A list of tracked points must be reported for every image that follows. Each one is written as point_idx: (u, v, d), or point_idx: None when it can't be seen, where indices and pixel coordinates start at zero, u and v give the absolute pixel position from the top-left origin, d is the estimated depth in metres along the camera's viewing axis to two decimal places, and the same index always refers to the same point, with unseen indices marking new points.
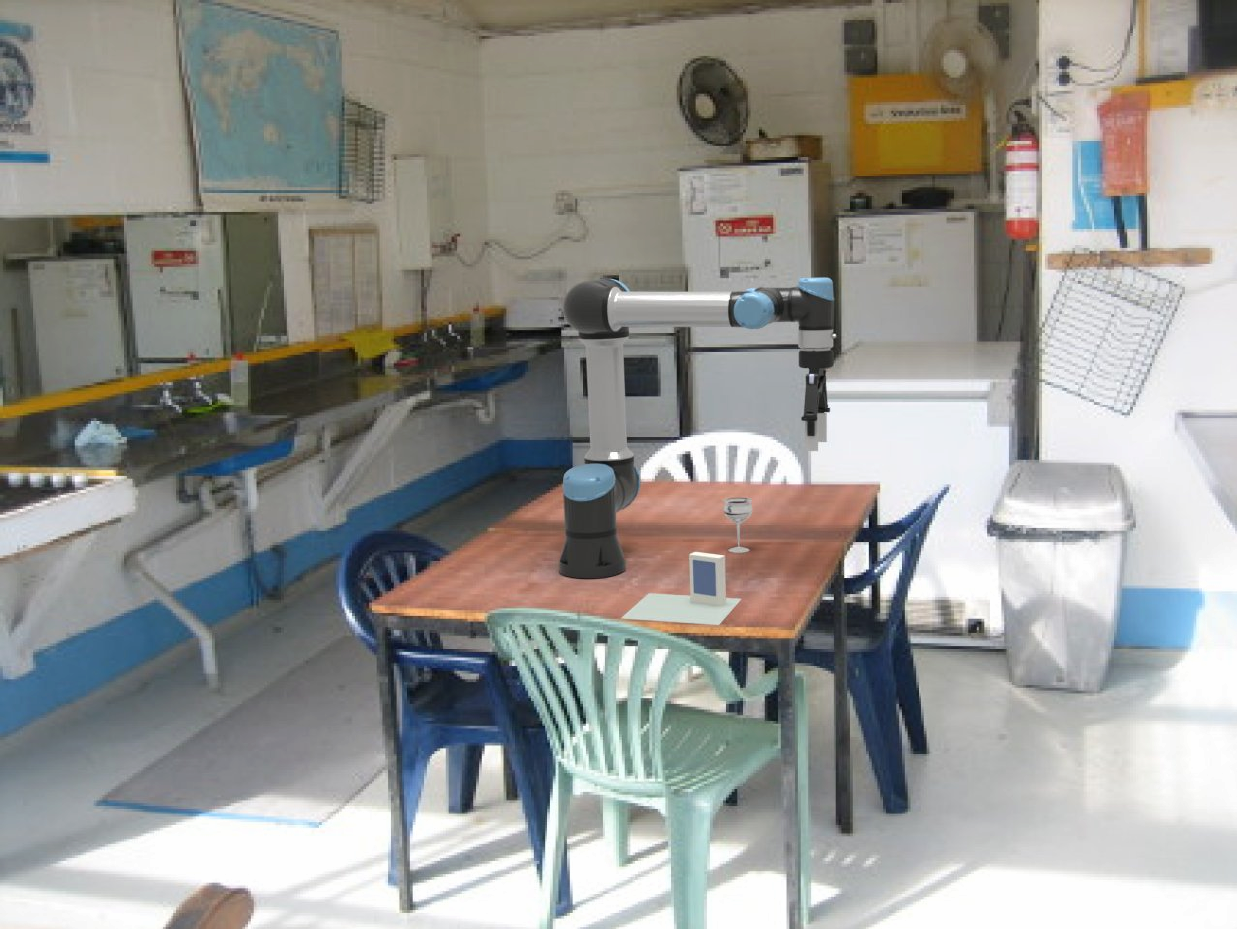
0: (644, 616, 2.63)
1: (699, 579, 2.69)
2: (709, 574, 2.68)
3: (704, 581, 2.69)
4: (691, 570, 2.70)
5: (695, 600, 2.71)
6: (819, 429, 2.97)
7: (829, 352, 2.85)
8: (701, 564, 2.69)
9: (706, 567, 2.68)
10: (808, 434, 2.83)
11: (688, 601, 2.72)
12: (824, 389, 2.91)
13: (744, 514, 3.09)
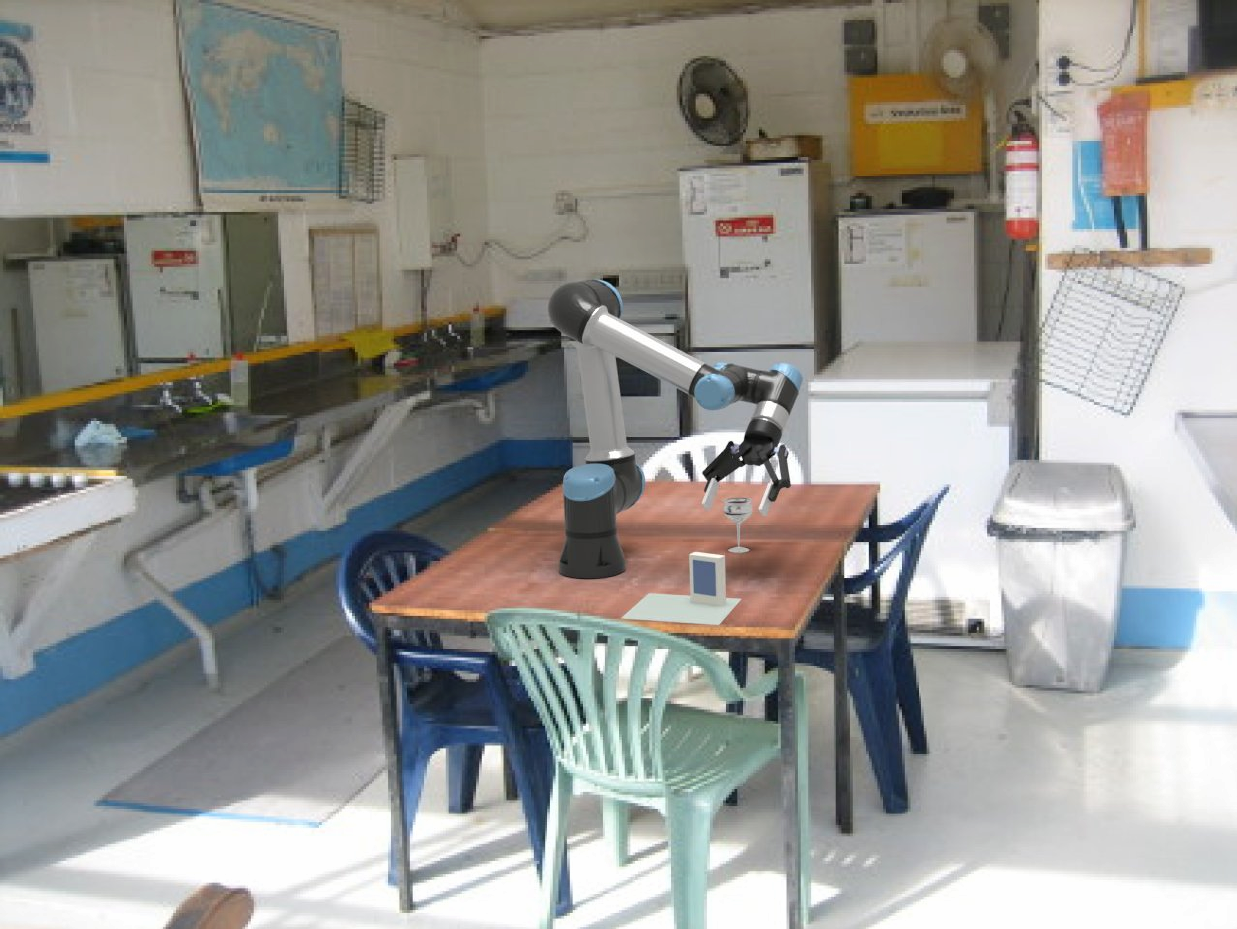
0: (644, 616, 2.63)
1: (699, 579, 2.69)
2: (709, 574, 2.68)
3: (704, 581, 2.69)
4: (691, 570, 2.70)
5: (695, 600, 2.71)
6: (711, 495, 2.81)
7: None
8: (701, 564, 2.69)
9: (706, 567, 2.68)
10: (773, 497, 2.73)
11: (688, 601, 2.72)
12: (744, 464, 2.84)
13: (744, 514, 3.09)
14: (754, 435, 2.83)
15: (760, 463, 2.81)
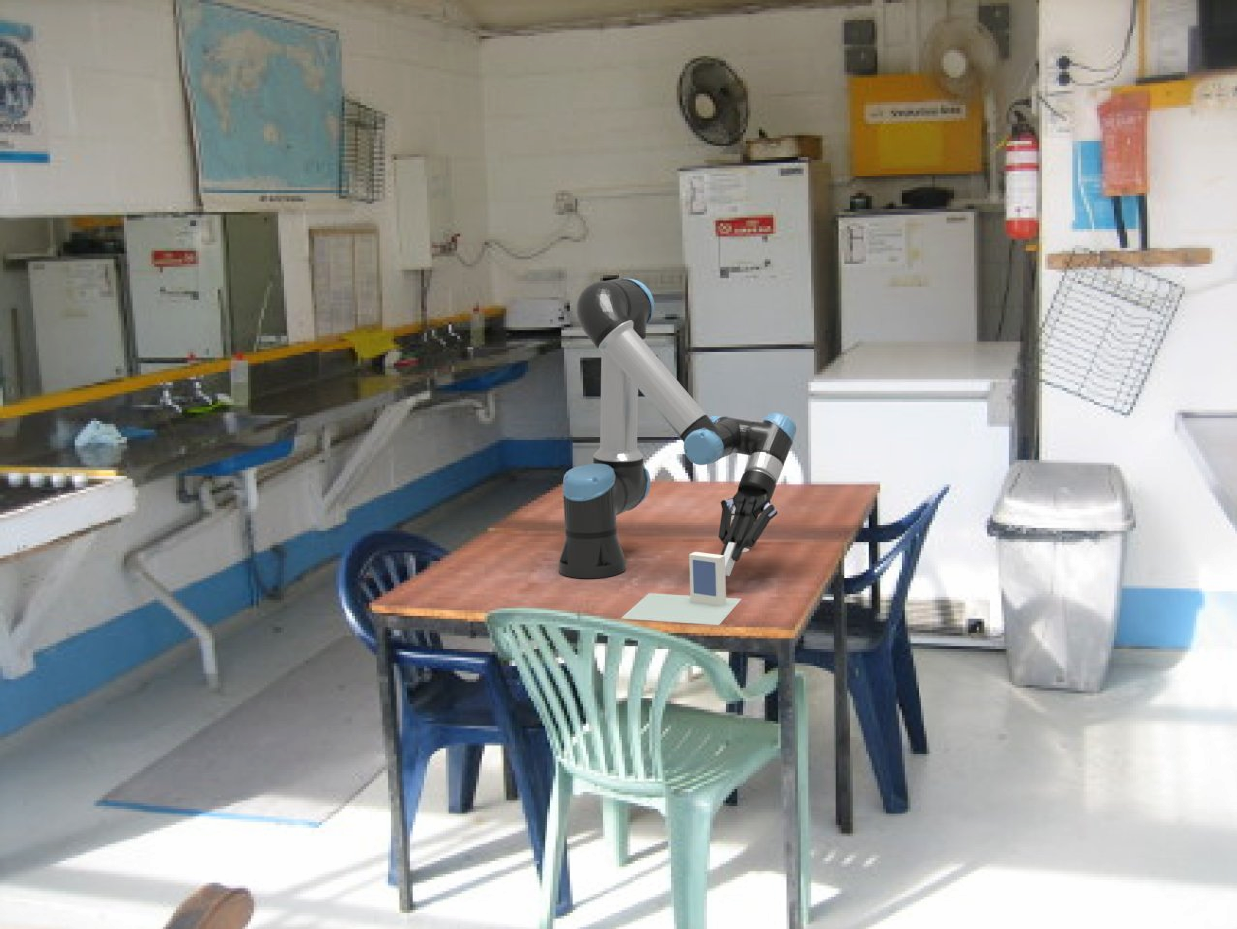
0: (644, 616, 2.63)
1: (699, 579, 2.69)
2: (709, 574, 2.68)
3: (704, 581, 2.69)
4: (691, 570, 2.70)
5: (695, 600, 2.71)
6: None
7: None
8: (701, 564, 2.69)
9: (706, 567, 2.68)
10: (736, 556, 2.75)
11: (688, 601, 2.72)
12: None
13: None
14: (748, 487, 2.82)
15: (754, 515, 2.80)
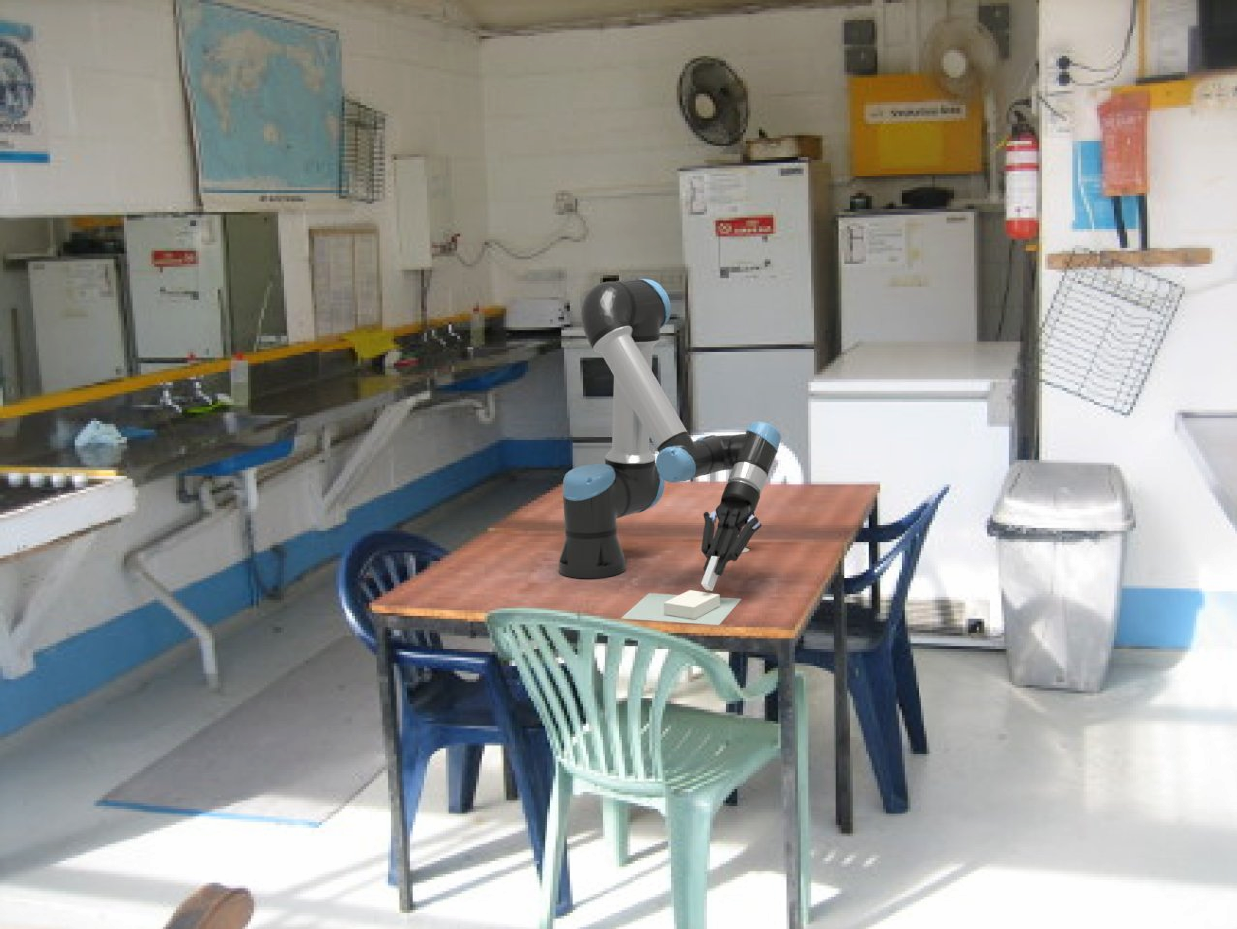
0: (644, 616, 2.63)
1: None
2: None
3: None
4: None
5: None
6: None
7: None
8: None
9: None
10: (719, 571, 2.68)
11: None
12: None
13: None
14: (731, 498, 2.75)
15: (738, 527, 2.73)
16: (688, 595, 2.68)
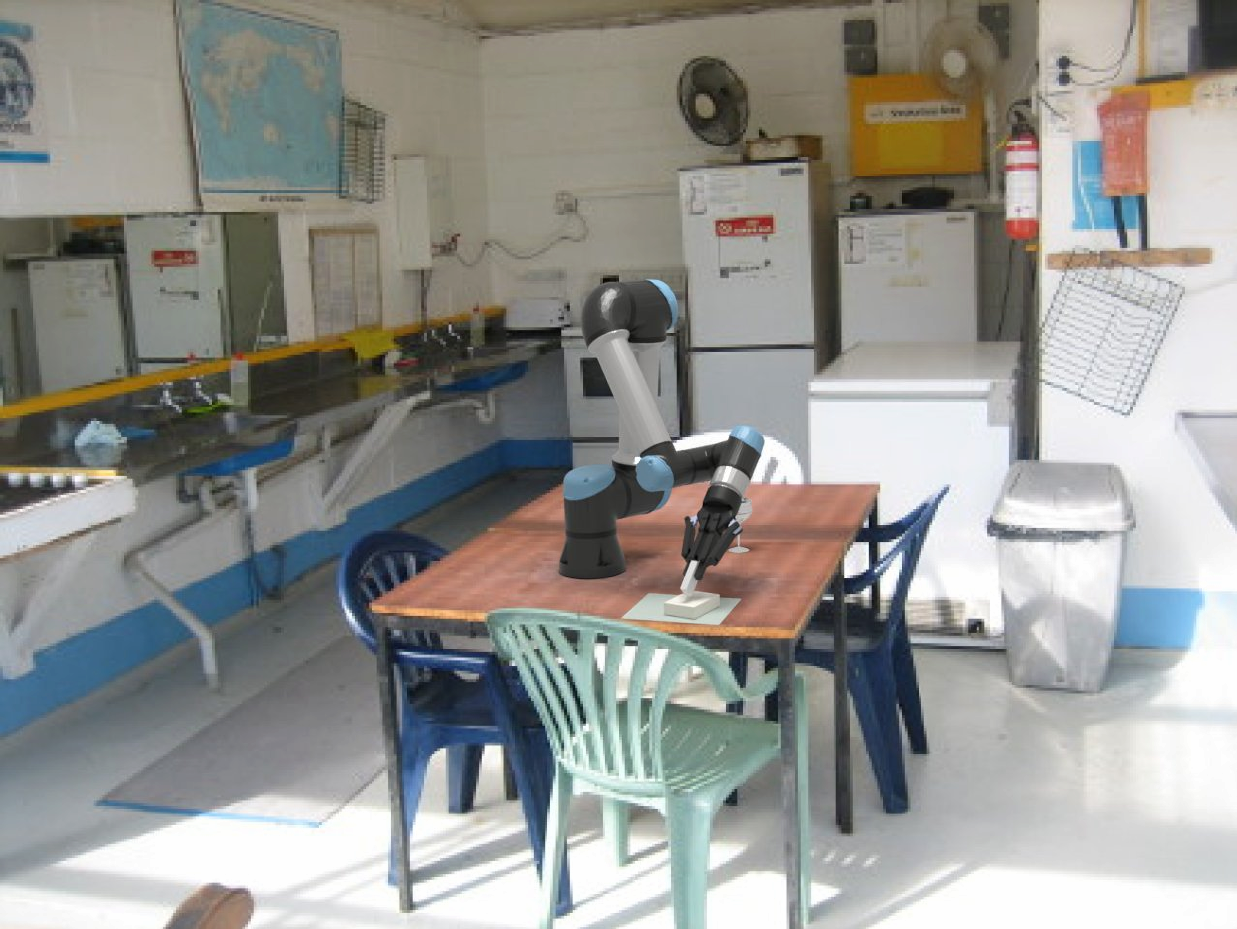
0: (644, 616, 2.63)
1: None
2: None
3: None
4: None
5: None
6: None
7: None
8: None
9: None
10: (699, 576, 2.63)
11: None
12: None
13: (744, 514, 3.09)
14: (712, 503, 2.70)
15: (719, 532, 2.68)
16: None
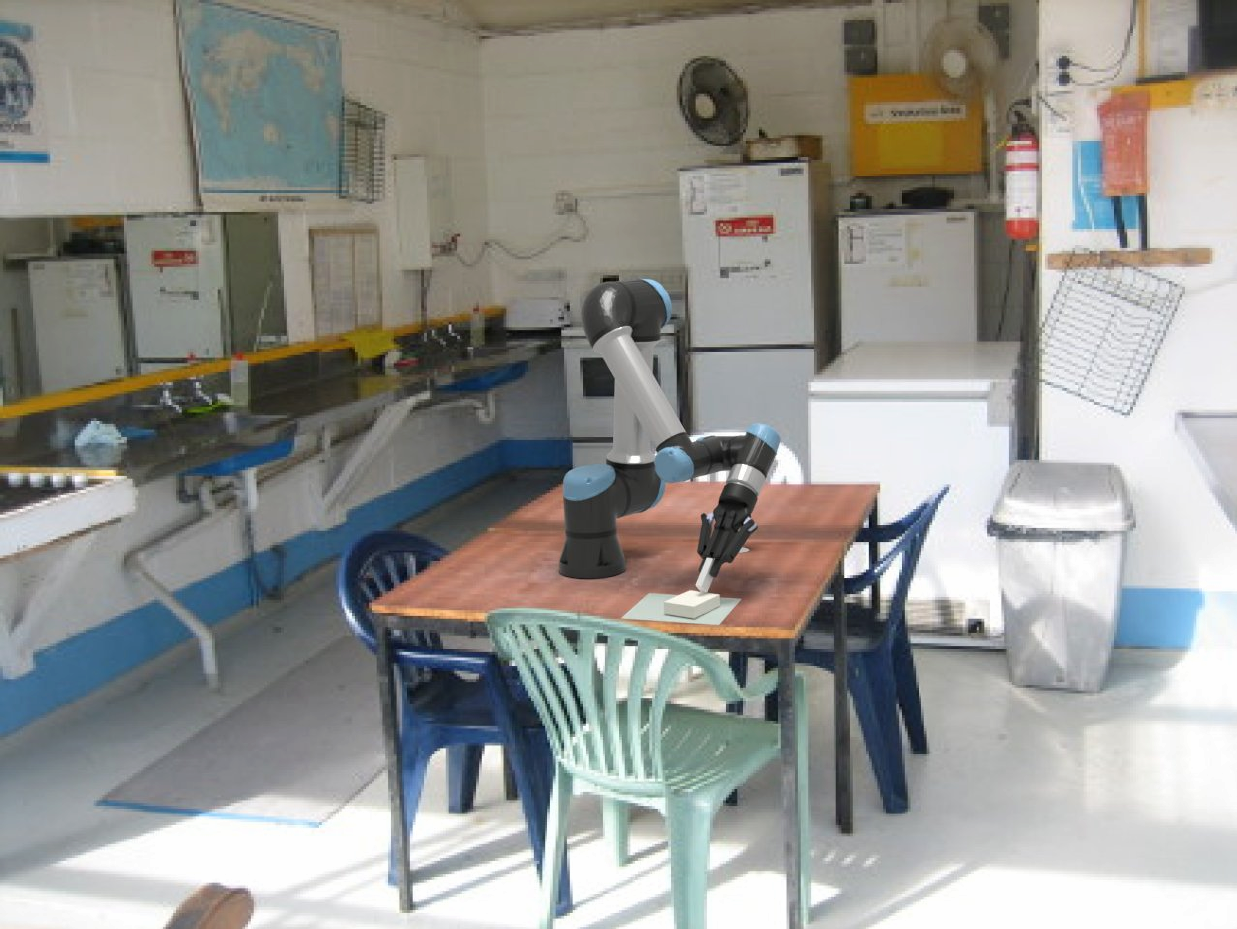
0: (644, 616, 2.63)
1: None
2: None
3: None
4: None
5: None
6: None
7: None
8: None
9: None
10: (714, 573, 2.67)
11: None
12: None
13: None
14: (728, 500, 2.74)
15: (734, 529, 2.72)
16: (688, 595, 2.68)
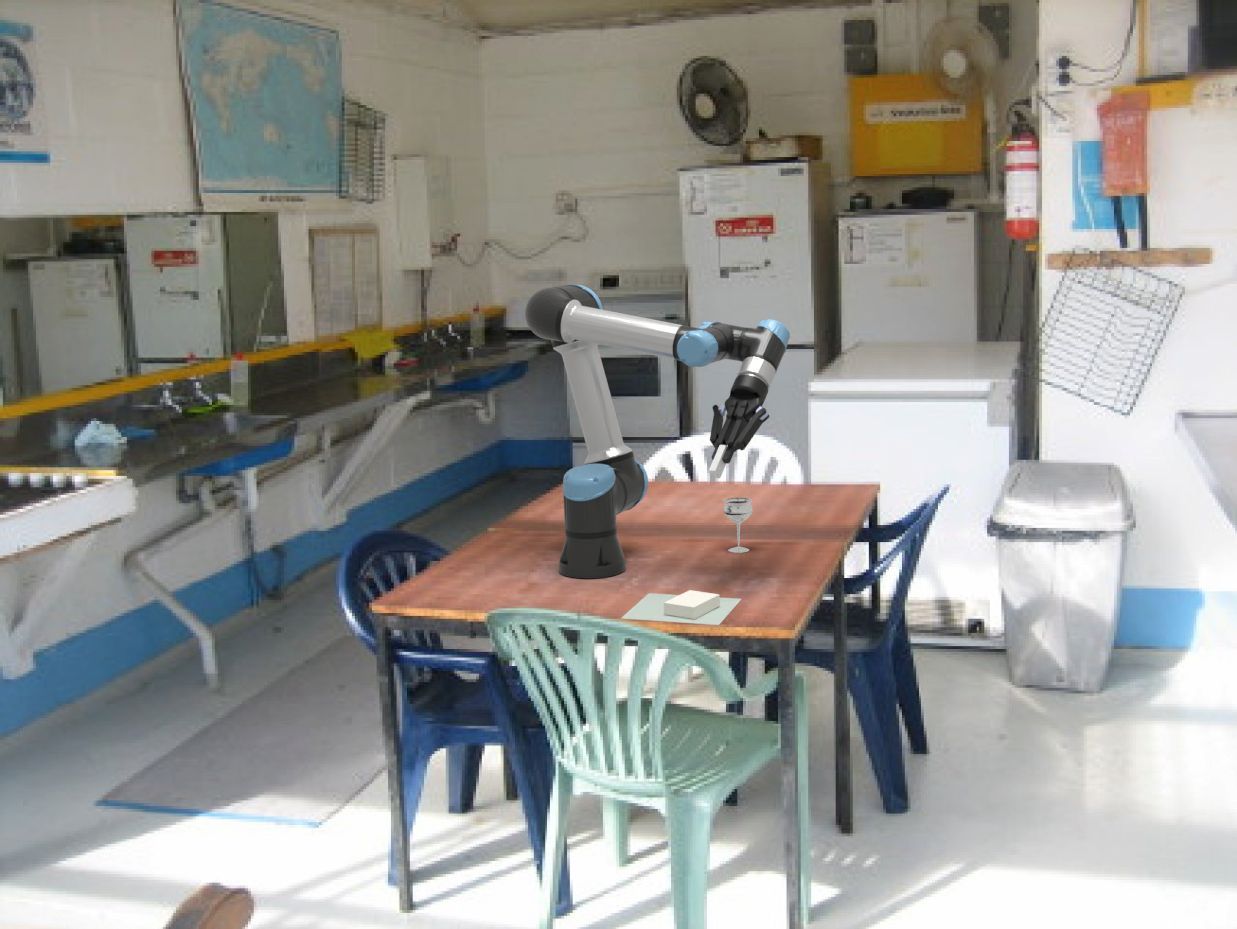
0: (644, 616, 2.63)
1: None
2: None
3: None
4: None
5: None
6: None
7: None
8: None
9: None
10: (727, 459, 2.73)
11: None
12: None
13: (744, 514, 3.09)
14: (740, 391, 2.80)
15: (746, 419, 2.78)
16: (688, 595, 2.68)
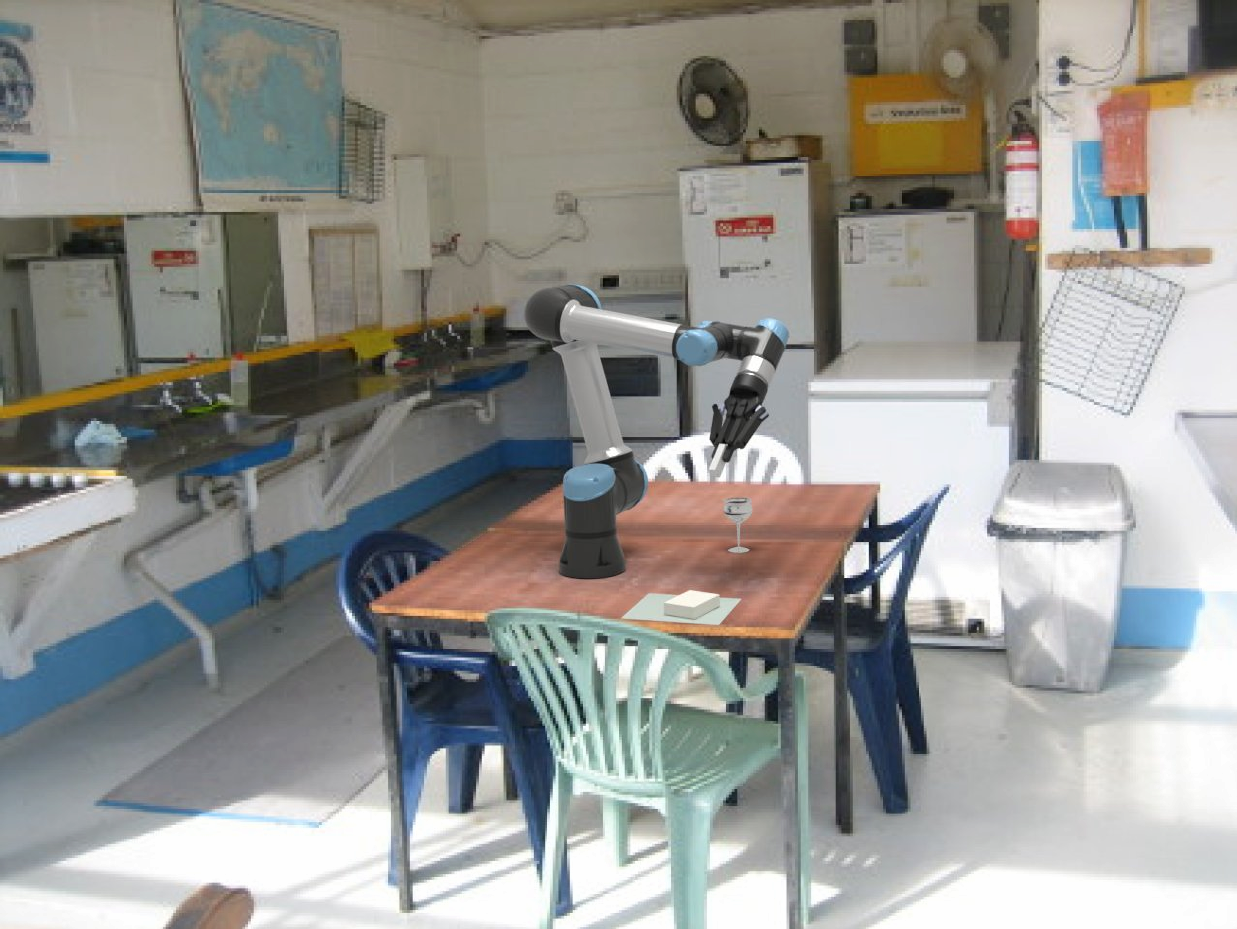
0: (644, 616, 2.63)
1: None
2: None
3: None
4: None
5: None
6: None
7: None
8: None
9: None
10: (727, 458, 2.73)
11: None
12: None
13: (744, 514, 3.09)
14: (739, 390, 2.80)
15: (745, 418, 2.78)
16: (688, 595, 2.68)
